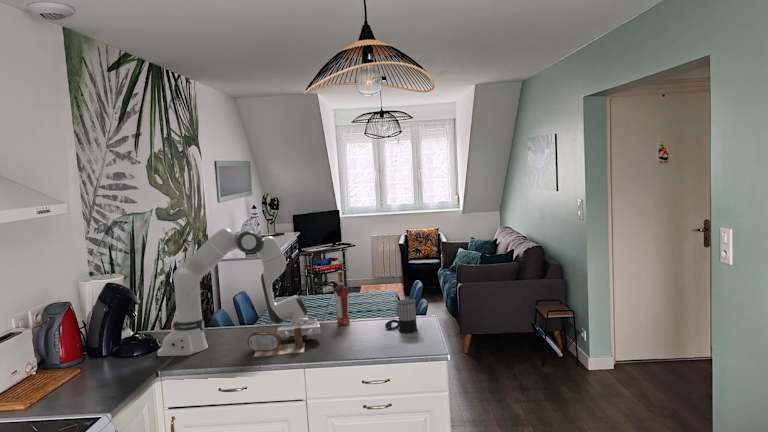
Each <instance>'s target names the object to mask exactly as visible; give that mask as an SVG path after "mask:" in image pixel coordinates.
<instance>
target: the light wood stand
mask: <svg viewBox="0 0 768 432" xmlns="http://www.w3.org/2000/svg"><path fill="white" fill-rule="evenodd" d="M294 335H295V336H294V343H284V344H283V343H282V344H280V346H279V347H278V348H277V349H276V350H274V351H254V355H253V358H260V357H270V356H283V355H292V354H293V355H294V354H301V353H302V354H303V353H305V350H306V349H305V348H306V347H305V346H306V342H303V336H302V332H301V326H294Z"/></svg>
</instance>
